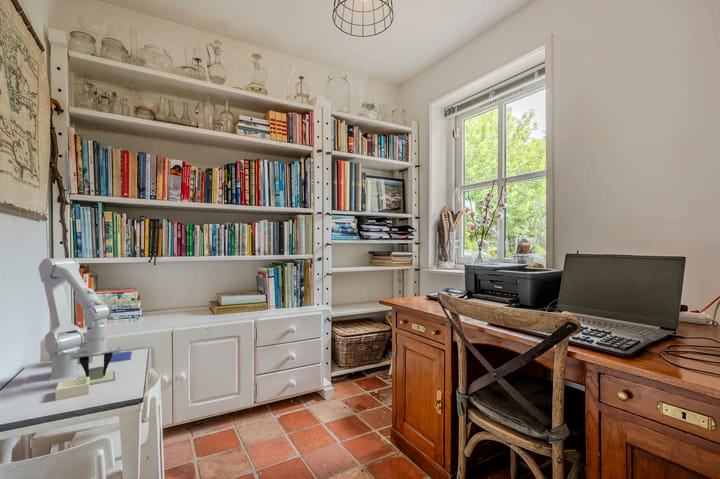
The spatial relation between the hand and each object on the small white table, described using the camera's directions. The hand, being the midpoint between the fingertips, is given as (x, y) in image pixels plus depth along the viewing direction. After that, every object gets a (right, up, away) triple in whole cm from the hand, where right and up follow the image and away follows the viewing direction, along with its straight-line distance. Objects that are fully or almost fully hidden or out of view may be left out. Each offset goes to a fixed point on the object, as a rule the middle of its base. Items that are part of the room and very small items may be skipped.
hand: (96, 376), depth 120 cm
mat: (0, -1, 0) cm, 1 cm away
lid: (0, -1, 0) cm, 1 cm away
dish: (+2, -1, -11) cm, 11 cm away
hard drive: (-9, -3, +24) cm, 25 cm away
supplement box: (-22, -2, +21) cm, 30 cm away
